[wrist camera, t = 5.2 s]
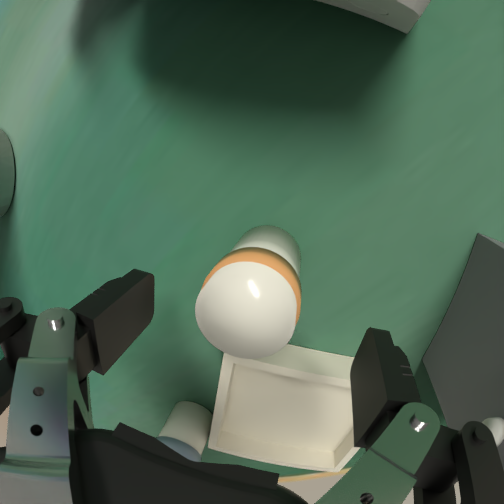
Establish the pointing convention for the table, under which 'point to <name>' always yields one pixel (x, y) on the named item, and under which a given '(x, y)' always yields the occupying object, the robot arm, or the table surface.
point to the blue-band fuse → (187, 429)
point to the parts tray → (286, 409)
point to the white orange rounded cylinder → (253, 295)
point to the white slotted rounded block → (386, 11)
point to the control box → (473, 345)
